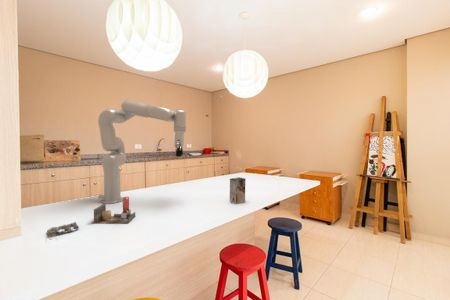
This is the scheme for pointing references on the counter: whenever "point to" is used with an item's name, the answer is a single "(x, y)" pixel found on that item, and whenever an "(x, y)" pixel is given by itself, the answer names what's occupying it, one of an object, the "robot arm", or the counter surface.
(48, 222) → the counter surface
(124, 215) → the handle
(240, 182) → the coffee box
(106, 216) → the tan wooden knob
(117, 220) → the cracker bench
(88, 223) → the counter surface
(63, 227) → the egg carton
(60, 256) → the counter surface
